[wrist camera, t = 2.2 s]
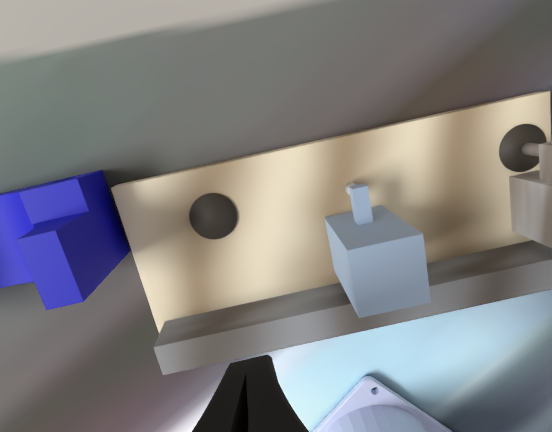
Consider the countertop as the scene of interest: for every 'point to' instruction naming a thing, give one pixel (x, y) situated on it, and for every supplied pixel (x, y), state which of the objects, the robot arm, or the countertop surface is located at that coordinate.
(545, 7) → the countertop surface
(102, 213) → the cable clip
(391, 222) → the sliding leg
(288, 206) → the board
